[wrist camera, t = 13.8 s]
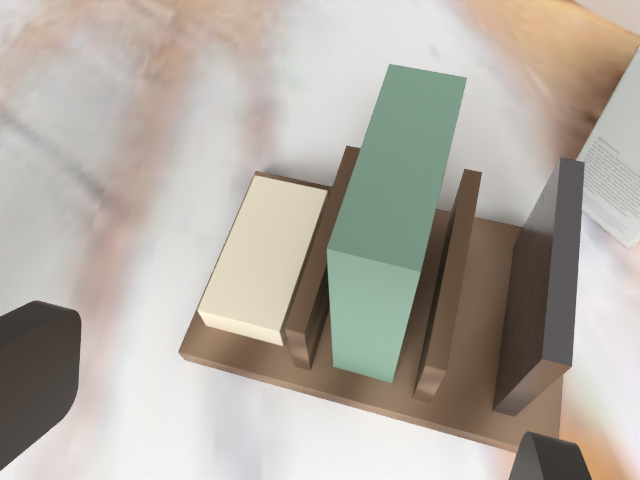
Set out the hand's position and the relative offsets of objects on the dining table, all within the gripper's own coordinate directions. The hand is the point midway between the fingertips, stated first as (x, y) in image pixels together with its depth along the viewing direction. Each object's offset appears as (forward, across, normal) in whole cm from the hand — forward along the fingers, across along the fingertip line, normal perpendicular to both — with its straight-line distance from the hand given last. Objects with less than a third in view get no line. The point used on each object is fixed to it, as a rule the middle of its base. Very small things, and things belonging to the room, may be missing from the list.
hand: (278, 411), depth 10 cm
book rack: (+26, -1, +7) cm, 27 cm away
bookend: (+25, -9, +6) cm, 27 cm away
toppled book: (+25, +7, +6) cm, 27 cm away
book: (+24, -1, +7) cm, 25 cm away
